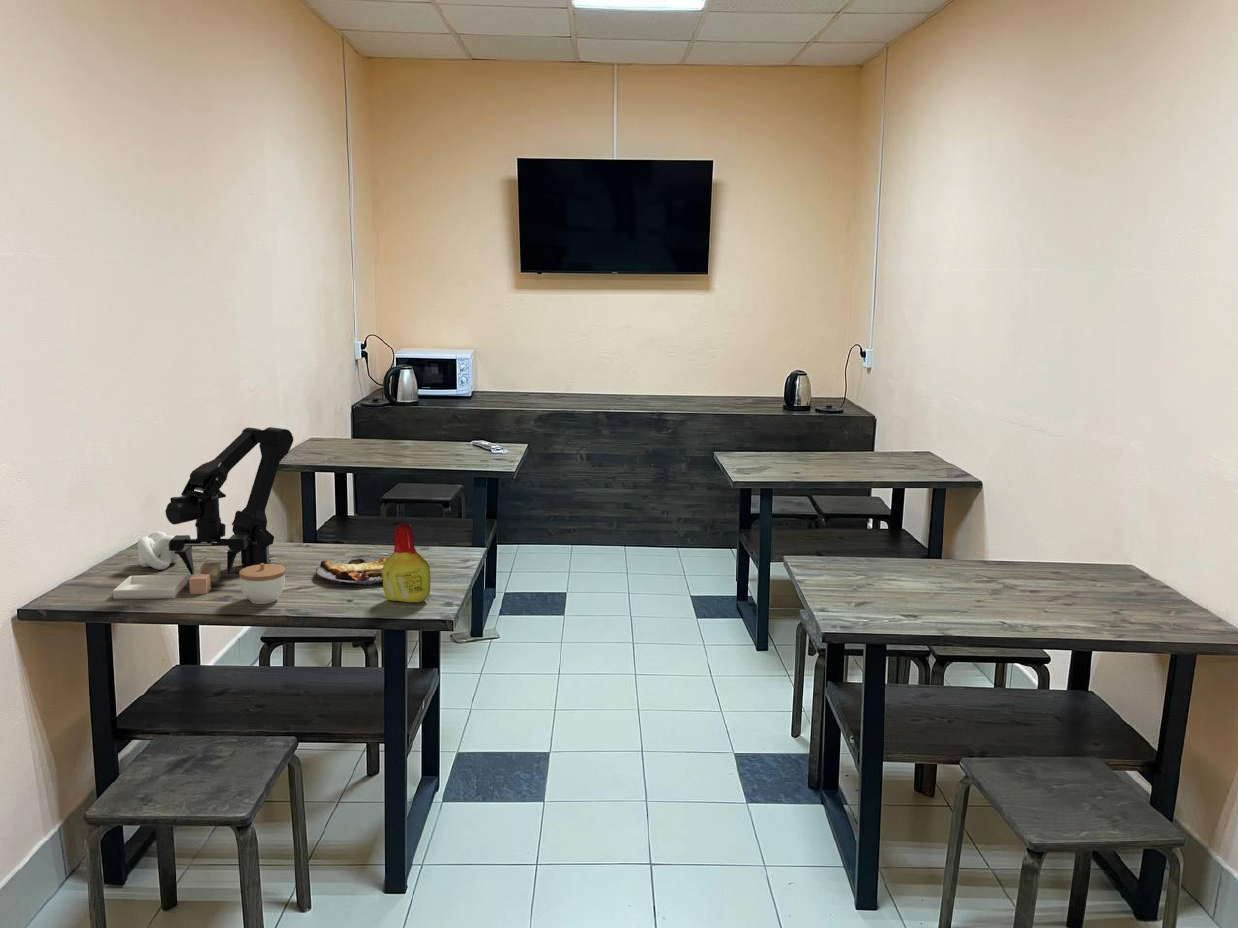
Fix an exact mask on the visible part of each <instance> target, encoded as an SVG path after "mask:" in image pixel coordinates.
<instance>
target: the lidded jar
mask: <svg viewBox="0 0 1238 928" xmlns="http://www.w3.org/2000/svg"><path fill="white" fill-rule="evenodd" d="M238 574H239V581H240V582H239V583H240V589H241V591H242V593H243V595H244V596H245V598H246V599H247V600H249V601H250V603H251V604H255V605H266V604H271V603H273V602H276V601H277V599H278V597H280V595H281V594H282V593H283V590H284V589H285V583H286V567H284V566H283V565H279V564H275V563H270V564H264V563H261V564H259V565H253V566H249V567H246V568H242V569H240V570H239V572H238Z"/></svg>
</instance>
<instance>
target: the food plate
mask: <svg viewBox="0 0 1238 928" xmlns="http://www.w3.org/2000/svg"><path fill="white" fill-rule="evenodd" d="M390 556H391V555H390ZM390 556H387V555H372V554H363V555H354V556H347V557H342V558H341V557H340V558H335V559H332V560H329V559H324V560H321V561H320V565H319V566H317V567H316V570H315V575H316V576H317V577H320V578H323V579H326V580H328V581H332V582H337V583H343V582H344V583H345V584H351V583H352V584H357V585H368V586H369V585H373V584H376V583H381V582H383V578H379V579H380V580H379V579H376V578H375V577H378V576H382V569H383V565H384V563H385V562H386V560H387V559H388V558H389V557H390ZM371 577H372V578H371ZM373 578H374V579H376V580H374V579H373Z"/></svg>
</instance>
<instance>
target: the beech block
mask: <svg viewBox="0 0 1238 928" xmlns="http://www.w3.org/2000/svg"><path fill="white" fill-rule="evenodd" d="M221 569H222V568H221V562H204V563H203V564H202V565H201V566H200V571H199V572H200V574H210V579H211V583H213V582H218V581H219V580H220V579H221V577H222V571H221Z"/></svg>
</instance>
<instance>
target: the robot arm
mask: <svg viewBox="0 0 1238 928" xmlns="http://www.w3.org/2000/svg"><path fill="white" fill-rule="evenodd" d="M293 443H294V436H293V433H292V432H291V431H290V430H289V429H287V428H279V427H274V426H273V427H271V426H270V427H266V428H264V429H260V428H256V427H245V428H243V429H242V431H241V434H239V435H238V436H237V437H236V438H235V439H234V440H233V441H232V442H230V444H229V445H227V447H225V448H224V449H223V450H222V451H221V452H220V453H219V454H218V455H216V457H215V458H214V459H212V460H210V461H207V462H205V463H202V464H201V465H199V466H198V467H196V468H195V469H193V470H192V471H191V473H190V474H189V479H188V481H187V482H186V484H185V486H184V488H183V490H182V492H181V493H180V495H181V496H173V497H170V502H169V503H168V504H167V505H166V509H165V511H164V512H165V516H166V519H167V521H168V522H169V523H170V524H171V525H180V524H184V523H188V522H189V523H190V522H193V521H195V524H194V525H195V528H196V538H191V535H189V534H187V535H185V534H184V535H183V534H182V535H179V534H176V535H175V537H174V538H172V539H171V540H170V541H169V551H175V552H174V553H175V554H178V555H179V556H180V558H181V560H182V561H183V563H184V564H185V566H186V568H187V570H188V572H189V573H190V575H191V576H193V574H195V573H194V572H195V567H194V559H193V552H192V551H193V547H227V548H229V549H228V550H227V551H226V552H227V553H226V554H227V556H226V557H227V559H226V560H227V561H226V562H227V563H226V566H227V568H226V569H227V575H230V574H231V572H232V568H233V566H234V562H235V559H236V557H237V555H238V554H240V557H241V559H240V560H241V561H240V562H241V565H242V566H241V568H242V569H243V568H246V567H249V566H253V565H259V564H261V563H264V564H271V562H272V559H270V546H271V545H273V544H274V541H275V536H274V535H273V534H272V533H271V532H270V531H269V530H267V526H268V520H267V515H266V508H267V505H268V501H269V499H270V495H271V492H272V488H273V486H274V482H275V480H276V479H275V478H276V475H277V472H278V469H279V466H280V462H281V461H282V460H283V459H284V458H285V457H286V456H287V455H288V454H289V453H290V450H291V448H292V445H293ZM258 444H259V451H260V455H261V458H260V461H259V465H258V468H257V472H256V474H255V477H254V481H253V484H252V486H251V490H250V494H249V496H248V500H247V504H246V505H245V507H244V508H243V509H242V510H236V511H235V513H234V519H233V521H232V523H231V525H232V532H233V534H232V535H231V536H230V537H229V538H223V537H225V536H226V527H227V526H226V525H227V524H225V523H223V522H222V519H221V517H220V516H221V515H220V500H219V499H223V498H226V497H227V495H226V494H225V492H222V491H221V490H220V489H221V488H222V487H223V485H224V484H225V483H226V481H227V479H228V475H229V473H230V471H231V470H232V469H233V468H235V466H236V465H237V464H238V463H239V462H240V461H242V460H243V459H244V458H245V456H247V455H248V454H249V453H250V452H251V451H252V450H253V449H254V448H255V447H256V446H257V445H258Z"/></svg>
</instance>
